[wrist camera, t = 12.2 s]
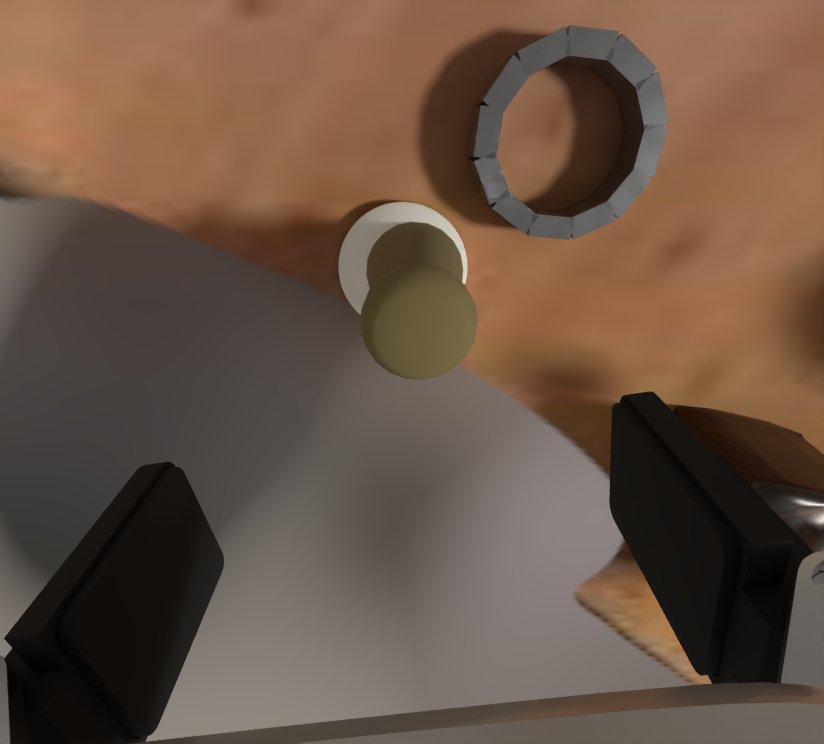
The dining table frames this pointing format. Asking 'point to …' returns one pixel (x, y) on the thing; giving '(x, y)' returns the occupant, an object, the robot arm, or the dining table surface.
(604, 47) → the holder ring
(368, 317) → the cork
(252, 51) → the dining table surface
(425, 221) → the pebble
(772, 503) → the pepper mill
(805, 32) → the dining table surface
